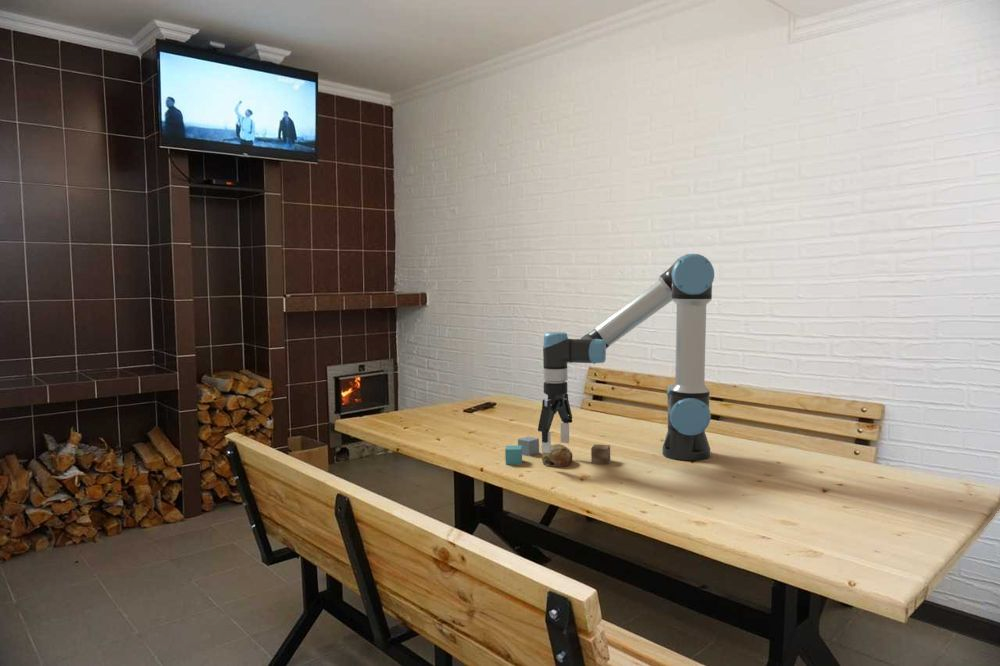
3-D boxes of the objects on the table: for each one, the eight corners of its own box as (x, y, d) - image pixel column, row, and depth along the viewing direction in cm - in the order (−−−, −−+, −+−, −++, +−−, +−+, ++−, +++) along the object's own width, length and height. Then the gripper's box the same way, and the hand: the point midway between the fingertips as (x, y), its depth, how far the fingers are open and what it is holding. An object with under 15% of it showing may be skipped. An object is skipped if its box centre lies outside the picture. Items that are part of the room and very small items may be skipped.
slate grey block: (539, 453, 237) (538, 438, 237) (529, 456, 234) (528, 441, 233) (528, 450, 241) (528, 436, 240) (518, 453, 237) (517, 439, 237)
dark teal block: (522, 460, 229) (521, 445, 228) (521, 464, 224) (520, 449, 223) (507, 460, 229) (506, 445, 229) (505, 464, 224) (505, 449, 224)
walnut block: (610, 460, 226) (610, 445, 225) (607, 464, 221) (606, 449, 221) (595, 459, 228) (594, 444, 227) (591, 463, 223) (591, 448, 222)
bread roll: (539, 475, 224) (534, 455, 221) (550, 454, 232) (546, 435, 228) (568, 478, 220) (563, 458, 216) (578, 457, 227) (574, 437, 224)
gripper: (561, 375, 235) (561, 437, 237) (526, 386, 213) (526, 455, 215) (582, 376, 231) (582, 440, 233) (548, 388, 209) (549, 458, 211)
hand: (555, 447), depth 224 cm, fingers open, 13 cm apart
